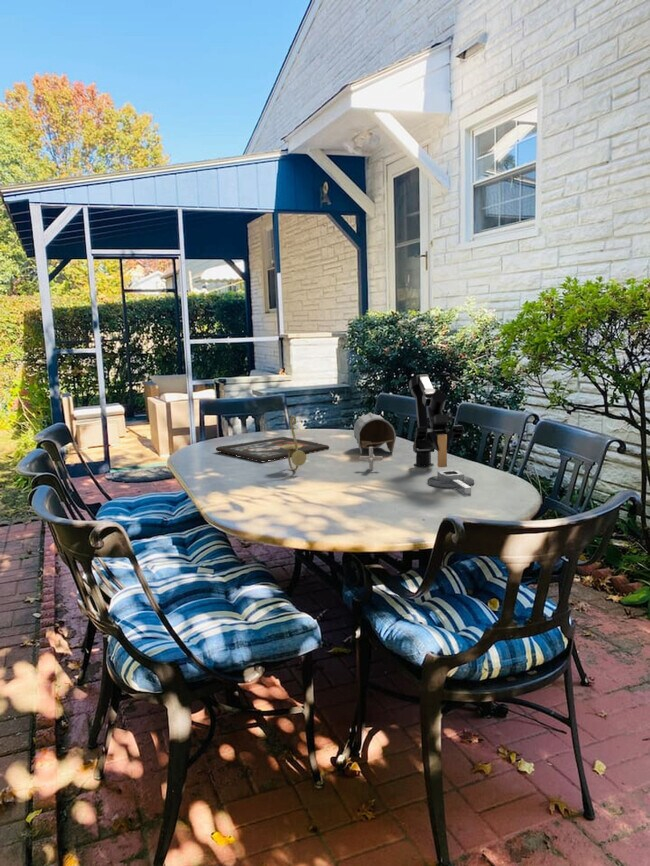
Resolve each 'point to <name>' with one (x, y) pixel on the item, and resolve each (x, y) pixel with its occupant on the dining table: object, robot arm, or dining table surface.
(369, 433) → the helmet
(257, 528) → the dining table surface
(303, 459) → the wall sconce
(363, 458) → the pipe connector
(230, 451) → the religious icon
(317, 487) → the dining table surface
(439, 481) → the rosette plate
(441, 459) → the pin
